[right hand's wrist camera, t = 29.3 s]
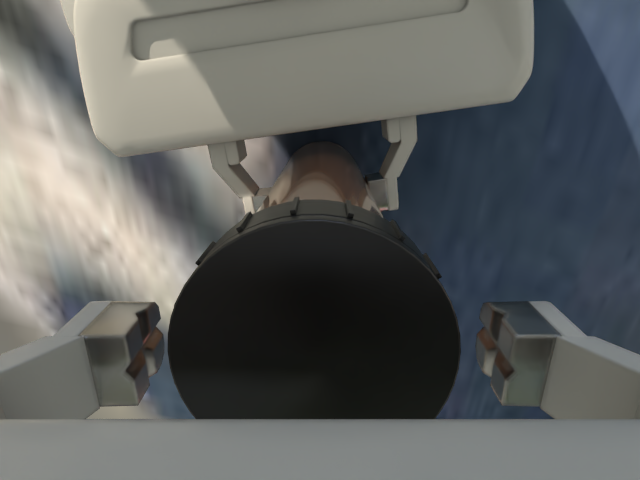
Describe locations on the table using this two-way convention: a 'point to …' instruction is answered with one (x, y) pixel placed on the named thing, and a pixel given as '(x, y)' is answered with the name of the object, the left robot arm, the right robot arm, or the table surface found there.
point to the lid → (314, 320)
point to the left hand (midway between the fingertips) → (324, 216)
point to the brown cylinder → (321, 178)
